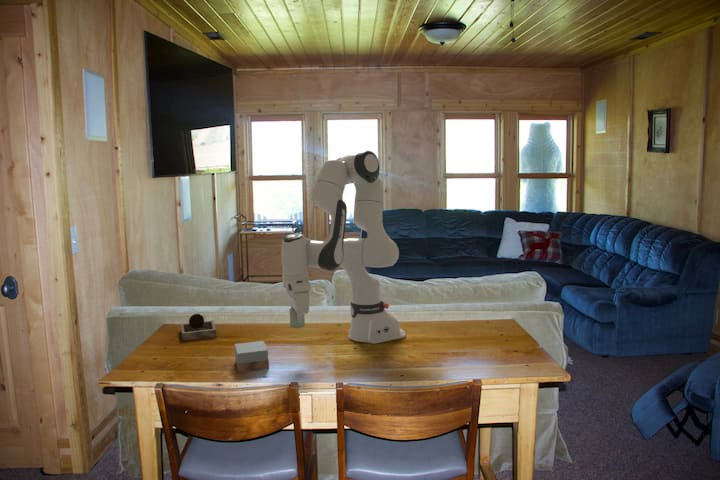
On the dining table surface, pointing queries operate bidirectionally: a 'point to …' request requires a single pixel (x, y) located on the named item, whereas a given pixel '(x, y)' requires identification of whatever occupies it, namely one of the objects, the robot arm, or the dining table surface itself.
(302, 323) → the sage green rounded oval
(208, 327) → the wooden frame
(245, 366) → the walnut slab
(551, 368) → the dining table surface
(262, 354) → the grey slab
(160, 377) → the dining table surface
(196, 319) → the compass
